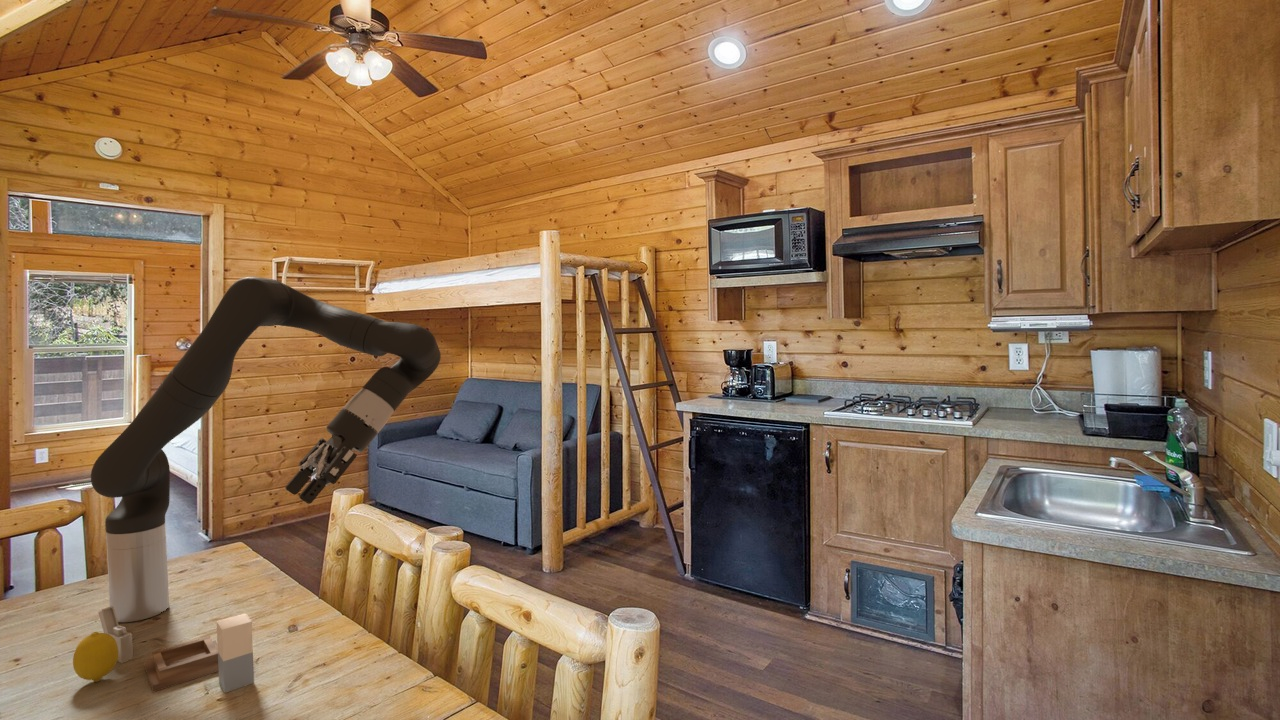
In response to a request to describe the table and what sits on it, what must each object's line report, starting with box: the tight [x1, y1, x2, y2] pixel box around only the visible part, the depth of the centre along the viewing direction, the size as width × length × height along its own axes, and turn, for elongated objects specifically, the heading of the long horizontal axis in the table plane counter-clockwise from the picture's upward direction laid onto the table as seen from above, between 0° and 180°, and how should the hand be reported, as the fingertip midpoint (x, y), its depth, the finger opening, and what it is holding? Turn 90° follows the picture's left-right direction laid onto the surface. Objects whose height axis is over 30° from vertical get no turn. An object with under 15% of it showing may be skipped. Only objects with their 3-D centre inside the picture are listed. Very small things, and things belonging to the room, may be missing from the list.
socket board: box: [143, 636, 219, 693], centre depth 106 cm, size 10×10×2 cm
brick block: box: [216, 612, 255, 694], centre depth 102 cm, size 4×4×10 cm
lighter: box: [98, 606, 134, 664], centre depth 110 cm, size 7×2×8 cm, turn 63°
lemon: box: [72, 631, 119, 683], centre depth 102 cm, size 6×6×8 cm
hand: (296, 496), depth 109 cm, fingers open, 8 cm apart
